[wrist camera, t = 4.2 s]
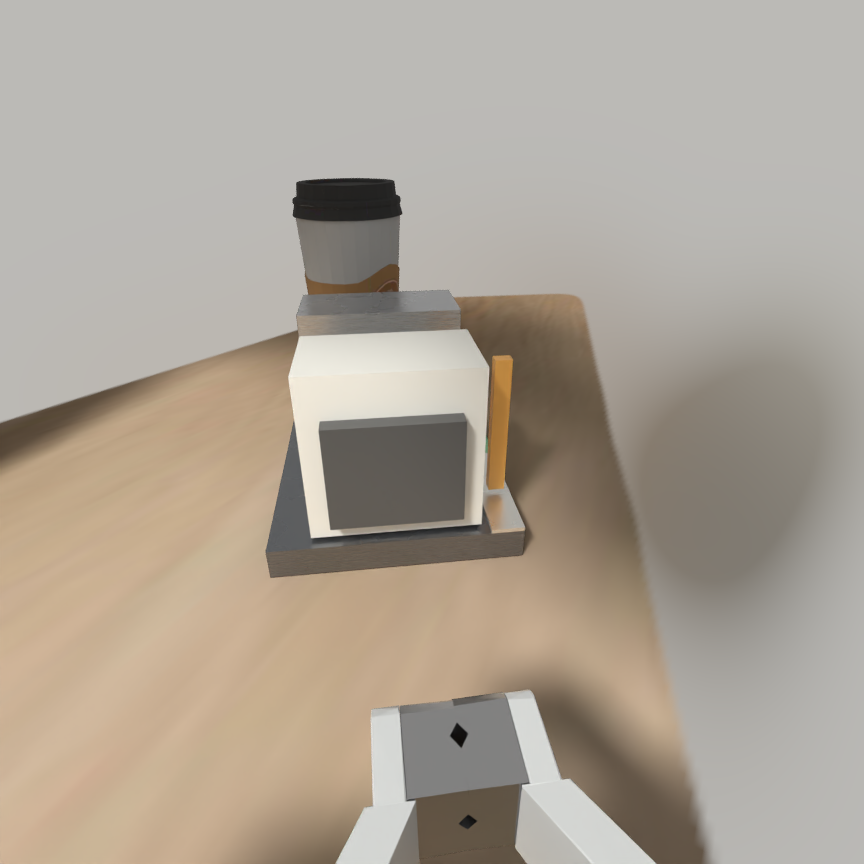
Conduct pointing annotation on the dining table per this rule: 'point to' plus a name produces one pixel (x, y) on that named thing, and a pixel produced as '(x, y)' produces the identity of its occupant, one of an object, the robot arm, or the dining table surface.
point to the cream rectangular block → (397, 429)
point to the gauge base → (308, 555)
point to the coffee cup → (349, 234)
